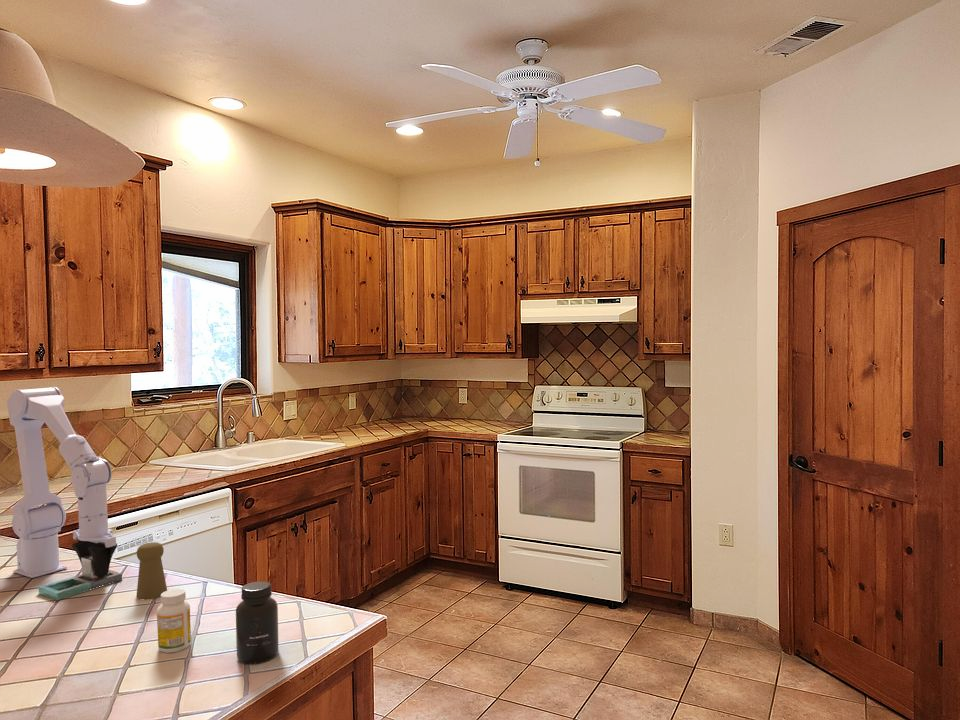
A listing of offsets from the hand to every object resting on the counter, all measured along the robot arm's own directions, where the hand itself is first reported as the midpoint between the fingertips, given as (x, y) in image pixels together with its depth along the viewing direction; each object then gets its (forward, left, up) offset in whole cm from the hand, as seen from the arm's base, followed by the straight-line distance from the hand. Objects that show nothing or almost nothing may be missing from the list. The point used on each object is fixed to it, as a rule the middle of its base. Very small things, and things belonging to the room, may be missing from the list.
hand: (95, 573), depth 156 cm
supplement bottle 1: (+47, -11, -2) cm, 48 cm away
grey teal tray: (0, -3, -2) cm, 4 cm away
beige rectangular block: (0, 0, -2) cm, 2 cm away
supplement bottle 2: (+63, -6, -2) cm, 63 cm away
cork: (+19, +2, -2) cm, 19 cm away
